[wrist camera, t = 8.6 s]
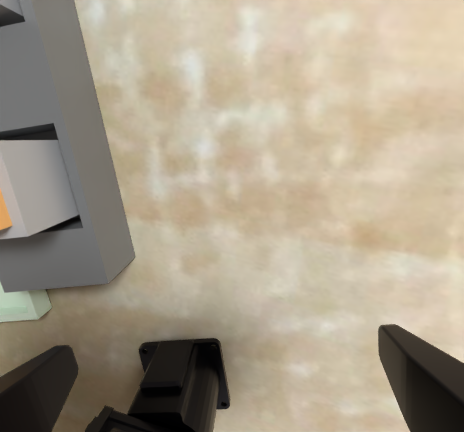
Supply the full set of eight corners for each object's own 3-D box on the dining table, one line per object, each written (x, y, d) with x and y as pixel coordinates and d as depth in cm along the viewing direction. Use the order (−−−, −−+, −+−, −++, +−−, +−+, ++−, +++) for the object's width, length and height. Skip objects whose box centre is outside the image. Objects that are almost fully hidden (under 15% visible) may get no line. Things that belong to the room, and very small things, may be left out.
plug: (79, 139, 18) (-25, 140, 11) (96, 206, 19) (10, 243, 12) (17, 148, 19) (-120, 154, 12) (37, 213, 20) (-77, 252, 13)
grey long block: (135, 257, 21) (106, 285, 17) (48, 265, 22) (1, 294, 18) (46, -115, 16) (-28, -204, 11) (-66, -86, 16) (-171, -159, 12)
